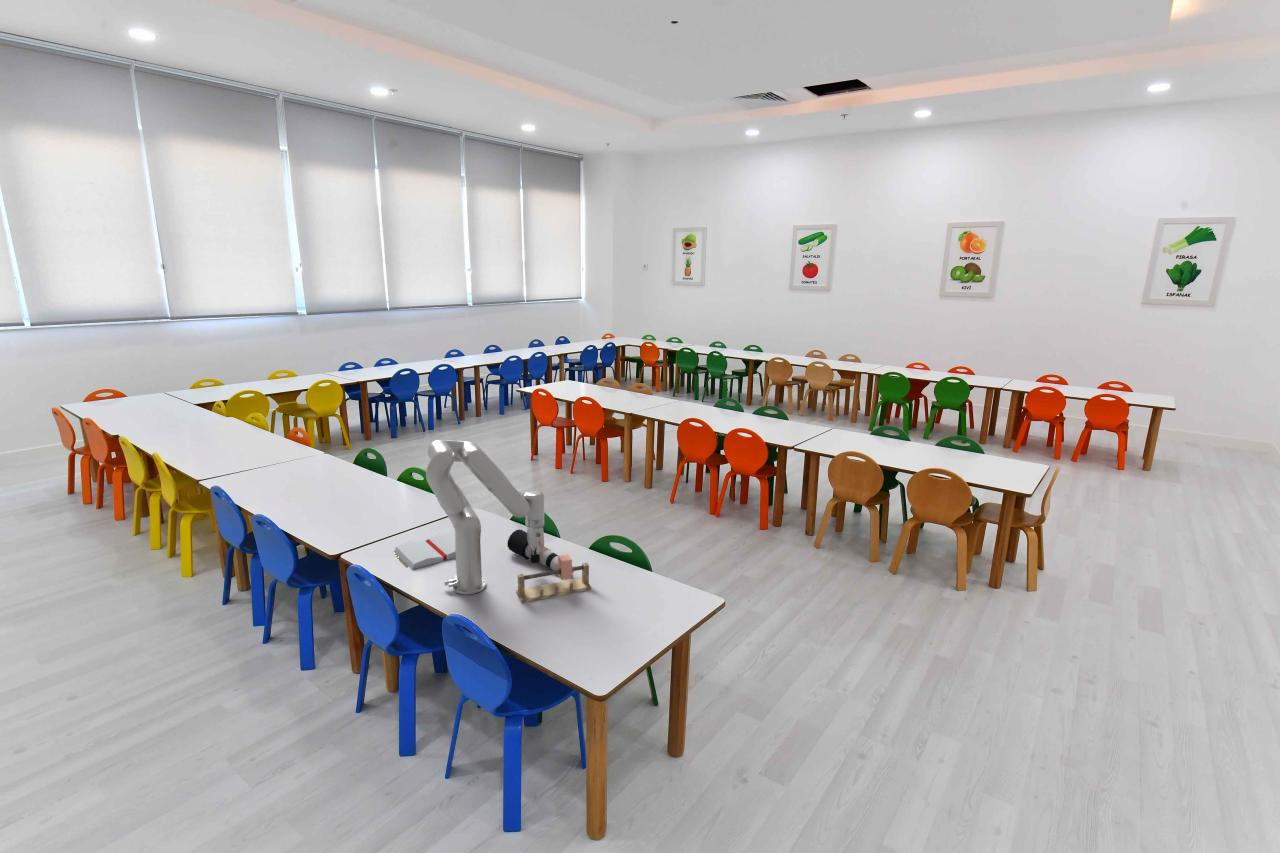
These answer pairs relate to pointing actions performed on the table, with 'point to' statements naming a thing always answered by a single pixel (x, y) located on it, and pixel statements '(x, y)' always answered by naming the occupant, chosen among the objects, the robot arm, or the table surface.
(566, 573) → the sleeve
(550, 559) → the black and grey cylinder
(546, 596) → the wooden test tube rack
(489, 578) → the table surface
